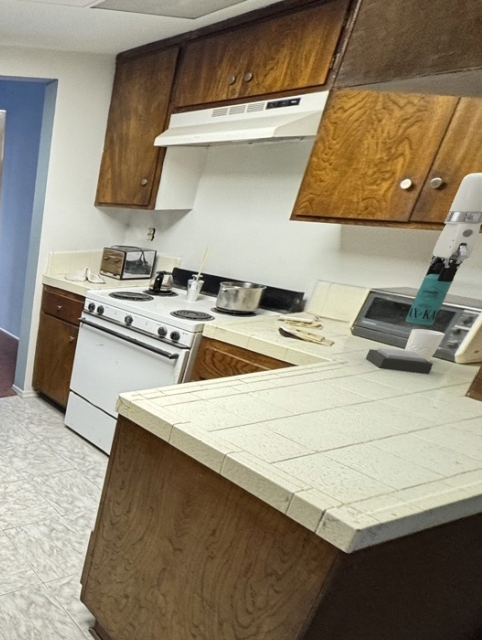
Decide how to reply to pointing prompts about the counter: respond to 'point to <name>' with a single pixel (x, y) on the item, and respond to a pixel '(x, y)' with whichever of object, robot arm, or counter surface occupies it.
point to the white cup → (424, 342)
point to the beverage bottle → (429, 299)
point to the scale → (398, 363)
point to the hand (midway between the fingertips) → (438, 279)
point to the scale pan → (401, 354)
